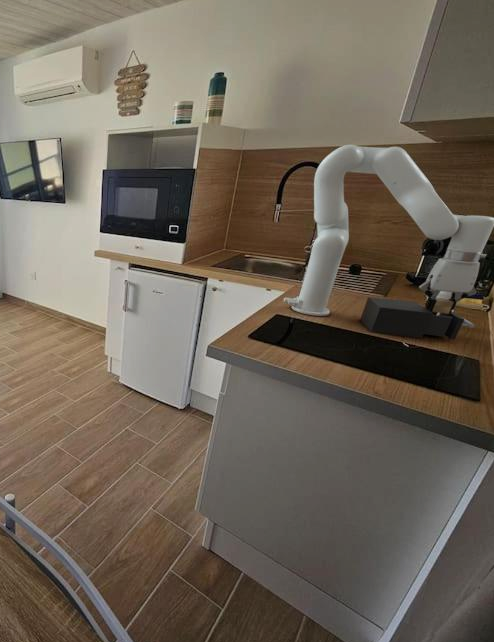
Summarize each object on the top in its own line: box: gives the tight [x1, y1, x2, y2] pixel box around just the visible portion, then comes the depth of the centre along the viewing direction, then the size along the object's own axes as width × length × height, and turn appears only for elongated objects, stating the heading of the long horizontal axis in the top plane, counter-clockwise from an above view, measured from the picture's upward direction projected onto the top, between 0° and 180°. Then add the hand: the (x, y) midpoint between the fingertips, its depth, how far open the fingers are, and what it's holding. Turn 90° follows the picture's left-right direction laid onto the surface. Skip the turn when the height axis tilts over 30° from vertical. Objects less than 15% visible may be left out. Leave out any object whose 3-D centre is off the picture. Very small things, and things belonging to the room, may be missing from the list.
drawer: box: [423, 306, 475, 340], centre depth 125 cm, size 17×11×7 cm, turn 66°
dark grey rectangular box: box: [359, 296, 433, 339], centre depth 129 cm, size 14×12×9 cm
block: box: [432, 298, 454, 314], centre depth 123 cm, size 4×4×4 cm
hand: (437, 310), depth 124 cm, fingers closed on block, 3 cm apart
